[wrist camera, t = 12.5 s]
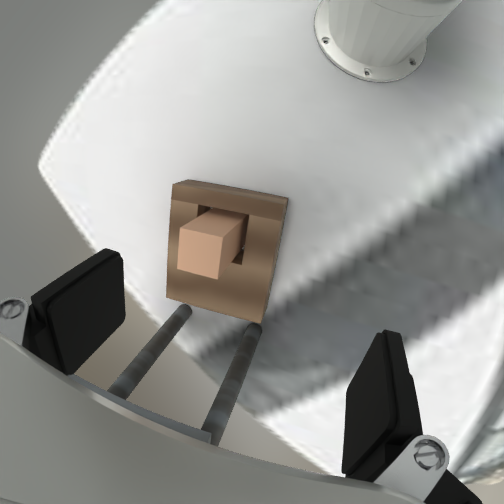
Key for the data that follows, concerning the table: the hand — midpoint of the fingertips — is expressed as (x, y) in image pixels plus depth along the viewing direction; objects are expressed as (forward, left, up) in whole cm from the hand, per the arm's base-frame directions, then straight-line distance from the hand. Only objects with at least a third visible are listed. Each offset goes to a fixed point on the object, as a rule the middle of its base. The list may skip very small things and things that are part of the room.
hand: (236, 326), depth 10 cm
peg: (+5, -7, -25) cm, 27 cm away
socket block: (+10, -7, -25) cm, 28 cm away
